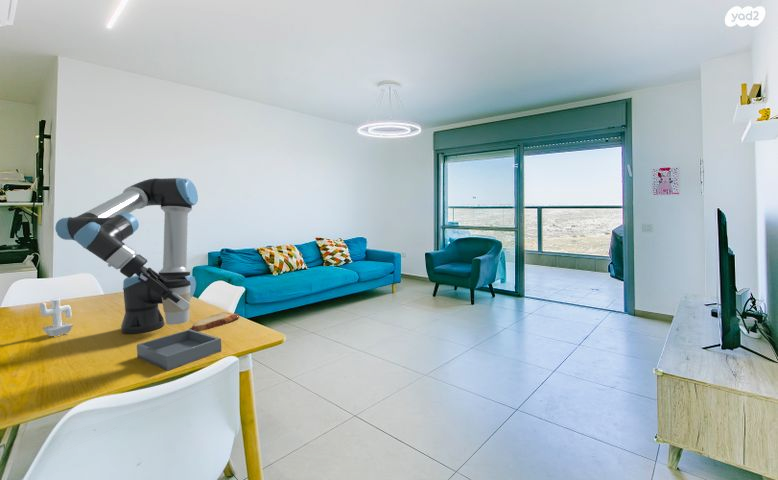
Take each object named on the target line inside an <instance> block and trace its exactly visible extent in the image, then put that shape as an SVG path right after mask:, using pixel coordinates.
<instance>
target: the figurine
mask: <svg viewBox="0 0 778 480" xmlns="http://www.w3.org/2000/svg"><path fill="white" fill-rule="evenodd" d="M39 309H40V310H39V311H40V315H41V316H42V317H48V316H52V325H48V326H44V327H41V329H42V330H43V331H44V332H45V333H46V335H47V336H48V335H50V336H58V335H62V334H66V333H68V334H69V333H70V331H71V330H72V328H73V326H74V324H72V323H68V322H67V323H66V322H62V313H65V318H68V319H70V318H72V317H73V316H72V315H73V314H72V308H71V305H69V304H65V305H61V299H60V298H51V299H50V307H49V308H48V307H47V304H46V302H41V303H39ZM66 335H67V334H66ZM50 336H49V337H50ZM62 336H63V335H62Z"/></svg>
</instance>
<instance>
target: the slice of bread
mask: <svg viewBox="0 0 778 480" xmlns="http://www.w3.org/2000/svg"><path fill="white" fill-rule="evenodd" d="M237 316H238V317H237ZM238 319H240V314H239V313H229V312H224V311H223V312H219V313H216V314H212V315H210V316H207V317H204V318H202V319H201V320H199V321H197V322H195V323H194V324H192V327H191V330H194V331H197V332H202V331H206V330H210V329H214V328H217V327H221V326H223V324H224V325H226V324H229V323H231V322H234V321H236V320H238ZM220 325H221V326H220Z"/></svg>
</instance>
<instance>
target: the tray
mask: <svg viewBox="0 0 778 480" xmlns="http://www.w3.org/2000/svg"><path fill="white" fill-rule="evenodd" d="M222 350H223V349H222V338H221V337H220V338H219V337H216V336H214V335H210V334H207V333H204V332H202V331H194V330H192V328H190V329H186V330H183V331H178V332H175V333H173V334H169V335H165V336H162V337H158V338H155V339H151V340H148V341H144V342H141V343H137V344H136V352H137V358H138V359H140V360H143V361H145V362H147V363H149V364H151V365H154V366H156V367H159V368H160V369H163V370H165V371H166V372H167V371H171V370H174V369H176V368H180V367H182V366H184V365H188V364H190V363H193V362H195V361H199V360H201V359H204V358H207V357H209V356H212V355H214V354H217V353H219V352H222Z"/></svg>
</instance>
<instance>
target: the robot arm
mask: <svg viewBox="0 0 778 480" xmlns="http://www.w3.org/2000/svg"><path fill="white" fill-rule="evenodd" d="M198 198H199V195H198V190H197V187H196V186H195V184H194V183H193V181H192V180H190V179H188V178H181V177H174V178H155V177H154V178H149V179H144V180H142V181H139V182H137V183H134V184H132V185H130V186H127V187H126V188H125V189H124V190H123V191H122V193H120V194H118V195H116V196H115V197H113V198H109V200H107V201H105V202H102V203H101V204H99V205H97V206H95V207H93V208H92V209H89V210H87V211H85V212H83V213H82V214H79V215H77V216H73V217H72V216H70V217H69V216H68V217H62V218H59V219H58V220H57V222H56V223H55V232H56V235H57V236H58V237H59V238H60V239H62V240H65V241H66V240H67V241H70V240H71V241H75V242H76V243H77V244H78V245H80V246H81V247H83V248H84V249H86V250H87V251H89V252H90V253H92V255H95V256H96V257H97V258H99V259H101V260H102V261H103V262H105V263H107V267H113V268H114V269H116V270H119V273H121V274H122V275H124V276H125V277H126V278H125V279H123V282H122V283H123V285H122V287H123V288H122V290H123V299H124V301H123V302H124V315H123V319H122V323H121V325H120V329H121V331H120V332H121V333H122V334H128V335H129V334H130V335H132V334H134V335H135V334H142V333H147V332H151V331H155V330H158V329H160V328H162V327H164V326H165V319H164V317H163V315H162V312H161V311H160V308H159V304H160V305H163V302H162V298H163V300H166V299H168V300H170V301H171V302H172V303H174V304H175V305H177V306H178V307H180V308H181V309H183V310H185V309H186V308H187V307H188V306H189V305H190V306H191V302H190V303H189V302H187V301H186V300H184V299H183V298H182V297H180V296H179V295H177V294H176V293H175V292H172V291H170V290H169V289H168V288H167V287H166V286H165V285H163V284H162V283H163V282H164V280H167V279H173V278H178V277H185V278H186V279H187V280H188V281H190V284H191V285H190V291H191V293H190V300H191V299H192V297H193V296H194V294H195V291H196V287H197V282H196V278H195V276H193V275H191V271H190V270H189V269H188V267H187V255H188V254H187V253H188V252H187V250H188V219H189V218H188V214H189V213H190V212H191V211H193V206H195V205H197V203H198V200H199V199H198ZM148 206H150V207H151V206H160V209H161V210H162V211H163V212H164V220H163V221H164V225H163V226H164V227H163V252H162V253H163V257H162V258H163V259H162V260H163V261H162V269H160V270H159V271H158V272H157V271H155V270H154V269H152V268H151V267H146V266H145V265H146V263H148V259H147V258H145V257H144V256H142V255H141V254H137V251H136V250H134V248H132V247H130V246H129V245H127V244H126V243H125V242H124V240H126V239H127V238H129V237H130V236H132V235H134V233H135V232H136V231H137V230H138V228H139V226H140V224H139V221H138V219H137V217H136V216H134V214H131V213H132V212H135V210H139V209H143V208H145V207H148Z"/></svg>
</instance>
